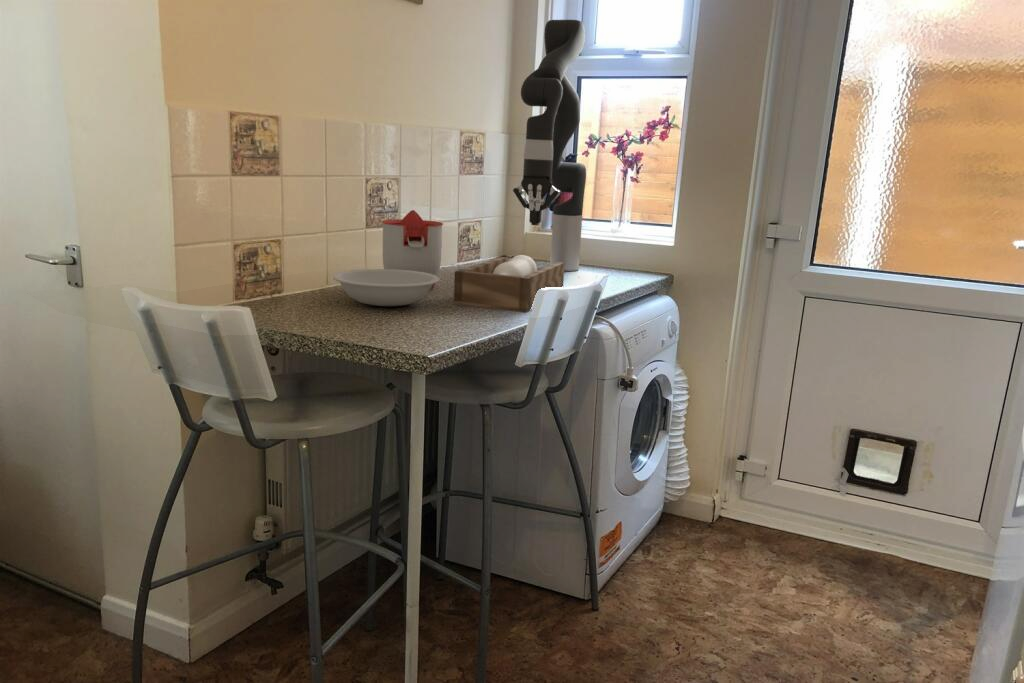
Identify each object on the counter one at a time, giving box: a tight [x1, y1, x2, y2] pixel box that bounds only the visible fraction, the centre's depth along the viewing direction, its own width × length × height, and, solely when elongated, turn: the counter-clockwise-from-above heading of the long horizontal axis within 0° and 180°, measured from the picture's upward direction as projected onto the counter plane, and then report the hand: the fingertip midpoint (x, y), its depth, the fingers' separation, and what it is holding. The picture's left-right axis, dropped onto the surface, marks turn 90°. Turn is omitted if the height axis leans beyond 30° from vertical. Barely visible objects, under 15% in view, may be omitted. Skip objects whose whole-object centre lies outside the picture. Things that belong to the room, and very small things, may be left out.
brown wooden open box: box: [453, 256, 565, 313], centre depth 200 cm, size 32×18×8 cm, turn 162°
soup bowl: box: [332, 268, 440, 307], centre depth 184 cm, size 24×24×7 cm
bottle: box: [493, 254, 538, 277], centre depth 203 cm, size 8×8×30 cm
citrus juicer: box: [381, 209, 444, 289], centre depth 206 cm, size 16×17×20 cm
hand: (534, 224), depth 213 cm, fingers closed
